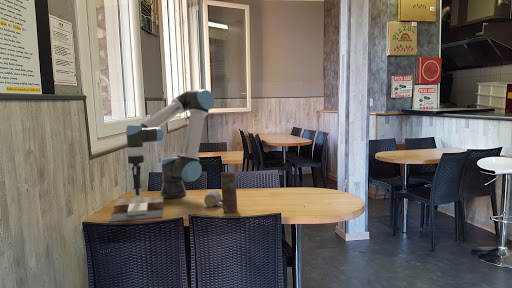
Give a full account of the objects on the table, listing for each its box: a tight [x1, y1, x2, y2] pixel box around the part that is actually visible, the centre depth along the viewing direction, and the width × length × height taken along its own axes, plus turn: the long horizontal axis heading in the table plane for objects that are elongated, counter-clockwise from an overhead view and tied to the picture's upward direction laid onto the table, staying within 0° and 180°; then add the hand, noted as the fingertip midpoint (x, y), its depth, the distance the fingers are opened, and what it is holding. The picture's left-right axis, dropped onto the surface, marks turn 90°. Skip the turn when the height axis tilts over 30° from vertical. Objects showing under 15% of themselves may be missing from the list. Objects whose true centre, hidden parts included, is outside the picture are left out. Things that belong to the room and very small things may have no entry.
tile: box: [128, 203, 148, 215], centre depth 181 cm, size 9×8×2 cm
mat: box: [108, 208, 164, 223], centre depth 178 cm, size 24×14×1 cm, turn 102°
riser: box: [113, 195, 165, 214], centre depth 192 cm, size 24×14×4 cm, turn 102°
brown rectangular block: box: [220, 171, 238, 214], centre depth 181 cm, size 8×7×20 cm
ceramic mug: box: [203, 189, 223, 208], centre depth 192 cm, size 11×8×8 cm
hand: (138, 200), depth 185 cm, fingers closed
